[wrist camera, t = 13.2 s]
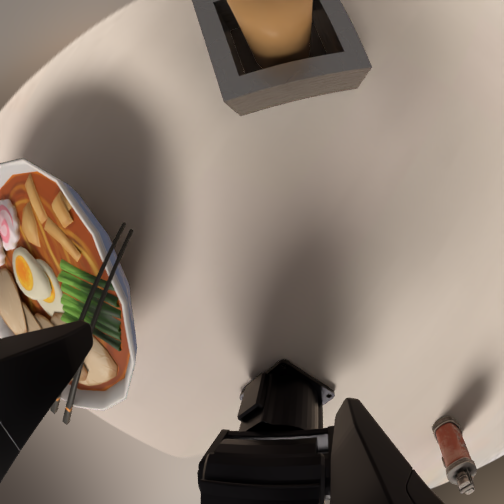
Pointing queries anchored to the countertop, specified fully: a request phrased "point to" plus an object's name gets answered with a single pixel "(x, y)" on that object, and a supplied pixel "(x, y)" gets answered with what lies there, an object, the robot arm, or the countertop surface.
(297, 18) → the plug
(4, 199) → the ramen bowl
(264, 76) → the grey square open block
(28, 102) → the countertop surface
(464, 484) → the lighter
